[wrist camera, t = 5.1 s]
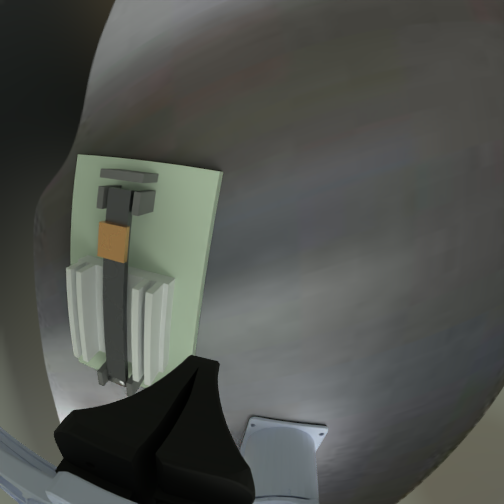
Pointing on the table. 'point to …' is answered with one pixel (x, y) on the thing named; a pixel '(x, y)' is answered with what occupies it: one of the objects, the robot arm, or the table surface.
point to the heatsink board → (142, 262)
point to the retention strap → (116, 279)
